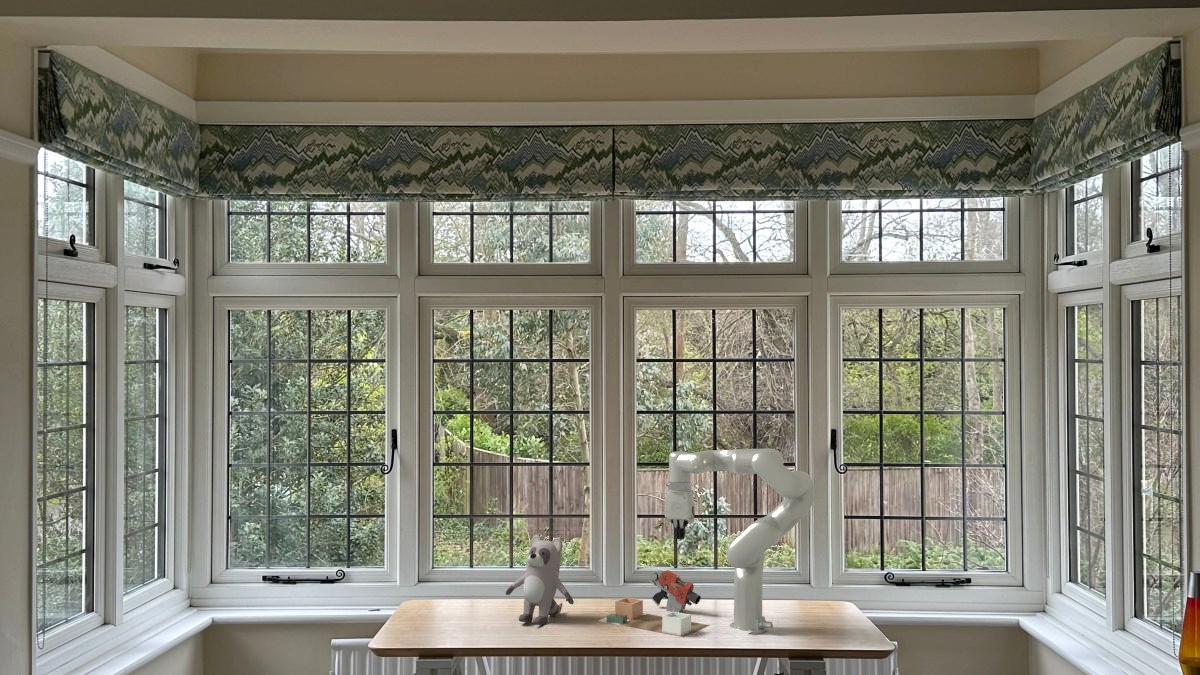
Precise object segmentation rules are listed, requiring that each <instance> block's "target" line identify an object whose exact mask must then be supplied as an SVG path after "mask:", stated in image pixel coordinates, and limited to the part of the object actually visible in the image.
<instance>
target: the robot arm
mask: <svg viewBox="0 0 1200 675" xmlns="http://www.w3.org/2000/svg"><path fill="white" fill-rule="evenodd" d="M784 462H785V461H784V457H783V454H782V453H781V451H779V450H777V449H775V448H740V449H737V448H736V449H735V448H733V449H717V450H715V449H714V450H713V449H712V450H701V451H695V452H690V453H689V452H687V451H679V450H678V451H672V452H670V453H669V456H668V479H669V480H668V482H666V483H665V485H666V487H668V489H667V490H666V493H665V494H666V496H665V501H664V517H665V520H666V522H670V523H671V524H672V525H673V527H674V528H675V529H674V530H675V531H674V532H675V537H676V538H675V539H676V540H683V539H685V537H686V527H687V525H689V524H693V523H695V515H696V514H695V513H696V510H695V508H696V507H695V499H694V494H693V490H691V487H692V486H691V474H693V475H694V474H695V475H700V474H704V473H709V472H732V473H734V474H737V475H757V476H758V477H760V479H762V480H763V481H764V482H765V483H766V484H767V485H768V486H769V487H770V488H772V489H773V490H774V491H775V492H776V493H777V494H779V495H780V496H781V497H783V498H784V499H783V500H782V501H781V502H780V503H779V504H778V505H777V506H776V507H775V508H774V509H772V511H771V512H769V513H768V514H767V515H766V516H763V517H761V518H759V519H757V520H755V521H753V522H752V523H751V524H750V525H748V527H746V528H745V529H744V530H743V531H741V533H740V534H739V535H738V536H737V537H736V538H735V539H734V540H732V541H731V542H730V543H729V544H728V546H727V547H726V552H725V553H726V554H725V556H726V560H727V562H728V564H729V565H730V566H732V567H733V568H734V583H733V586H734V587H733V592H734V594H733V596H734V597H733V598H734V599H733V622H731V623H730V624H729V627H730V628H731V629H734V630H738V631H743V632H748V635H759V634H763V633H766V632H767V630H768V629H769V630H772V629H773V627H774V624H773V622H772V621H766V616H764V615H763V584H764V583H763V580H764V579H763V576H764V575H763V574H764V563H765V556H766V555H765V552H767V551H768V550H769V549H770V548H771V547H772V546H774V545H776V544H777V543H779V542H780V541H781V540H782V539H783V538H784V537H785V536H786V534H788V533H789V532H790V531H791V530H792V529H793V528H794V527H795V526H796V525H797V524H798V523H799V522H800V521H801V520H802V519H803V518H804V517H805V516H806V515H807V514H808V513H809V512H810V510H811V509H812V506H813V505H814V501H815V497H816V487H815V483H814V481H813V479H812V478H813V477H811V476H810V474H809V473H807V472H805V471H803V470H793V471H791V470H790V469H789V468H788V467H787V466H785V465H784Z"/></svg>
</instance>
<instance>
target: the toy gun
mask: <svg viewBox="0 0 1200 675" xmlns="http://www.w3.org/2000/svg"><path fill="white" fill-rule="evenodd" d="M648 580H649V581H648V582H649V583H650V584H652V585H653V586H655V587H657V588H659V589H660V591H659V592H657V593H655V594H654V595H653V596H652V598H651V600H652V601H653V603H654V604H655V605H656V606H660V604H661V601H662V600H663V599H664V598H665V599H667V601H666V606H665V607H666V611H667V612H669V613H670V612H679V613H684V610H685V609H686V606H687V605H688V606H692V604H694V605H698V604H699V602H700V601H701V598H702V597H701V595H700V594H698V593H696V592H694V587H695V585H694V582H693V581H691V580H687V582H685V581H683V580H682V579H681V577H680V576H679V575H677V574H676V573H675V572H672V571H671V570H668V569H667V570H657V571H655V572H653V573H652V574H650V576H649V579H648Z"/></svg>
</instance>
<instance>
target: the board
mask: <svg viewBox="0 0 1200 675" xmlns="http://www.w3.org/2000/svg"><path fill="white" fill-rule="evenodd" d="M662 616H663V615H655V614H650V613H644V612H643V616H641V617H639V618H636V619H634V620H629V619H627V622H625V623H624V624H619V623H611V622H607V616H606V617H604V618H601V619H599V620H597V621H598V622H602V623H606V624H607V623H608V624H613V625H617V626H624V627H627V628H628V627H629V628H633V629H637V630H638V629H639V630H644V631H648V632H649V631H650V632H653V633H654V632H655V633H657V634H658V633H660V634H663V635H669V636H674V637H679V638H686V637H688V636H690V635H692V634H694V633H697V632H699V631H701V630H703V629H705V628H707V627H709V626H710V624H704V623H699V622H693V621H691V632H689V633H686V634H684V635H682V636H677V635H672V634H667V633H662Z"/></svg>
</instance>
